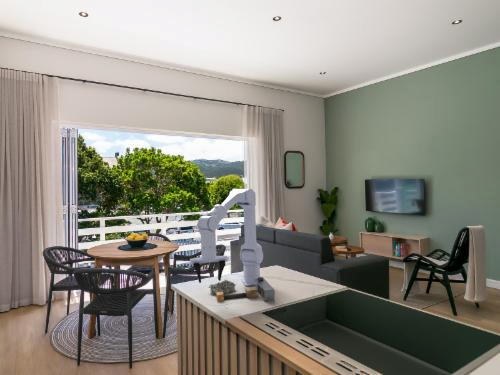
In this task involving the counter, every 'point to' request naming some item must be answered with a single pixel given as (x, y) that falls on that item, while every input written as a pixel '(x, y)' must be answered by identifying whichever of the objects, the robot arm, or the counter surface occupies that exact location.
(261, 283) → the motor housing
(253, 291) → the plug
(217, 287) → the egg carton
